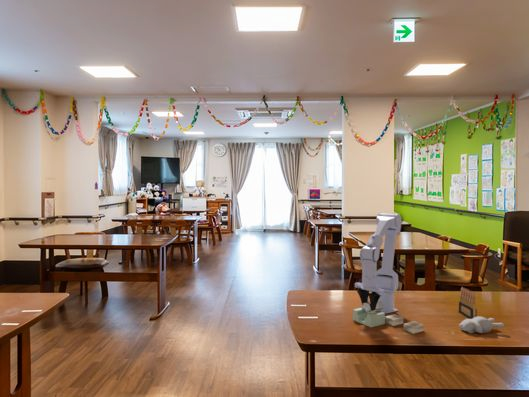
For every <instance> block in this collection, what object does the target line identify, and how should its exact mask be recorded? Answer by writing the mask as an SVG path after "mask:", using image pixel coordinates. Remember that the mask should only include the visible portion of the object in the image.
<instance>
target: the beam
mask: <svg viewBox="0 0 529 397" xmlns="http://www.w3.org/2000/svg"><path fill="white" fill-rule="evenodd" d="M385 324H387V325H389V326H392V327H394V326H399V325H402V324H403V331H405V332H408V333H410V334H413V335H414V334H417V333H420V332H423V331H424V324H423V323H420V322H417V321H414V320H411V321H409V322H406V323H404V317H403V316H401V315H397V314H390V315H385Z"/></svg>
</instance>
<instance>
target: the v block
mask: <svg viewBox="0 0 529 397" xmlns="http://www.w3.org/2000/svg"><path fill="white" fill-rule="evenodd" d="M352 311H353V312H352V321H354V322H357V323H358V324H359V323H360V324H362V325H364V326H367V327H369V328H374V327H378V326H382V325H385V324H386V323H385V316H386V313H384V312H380V311H376V312H368V313H364V312H363V311H362V308H361V307H358V308H354V309H352Z"/></svg>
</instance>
